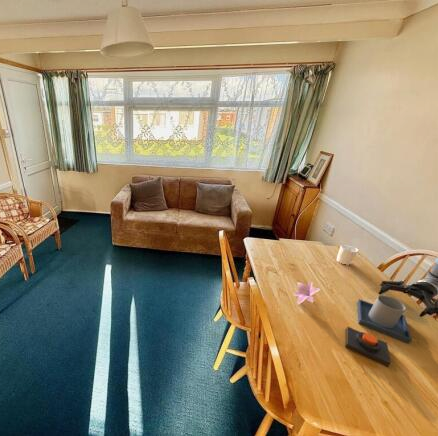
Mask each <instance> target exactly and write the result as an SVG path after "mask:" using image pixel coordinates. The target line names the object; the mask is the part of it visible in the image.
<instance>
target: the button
mask: <svg viewBox="0 0 438 436" xmlns="http://www.w3.org/2000/svg"><path fill="white" fill-rule="evenodd" d="M364 333H365V334H363V336H362V340H363V341H364V342H366V343H367V344H369V345H372V346H375V345H376V343H377V342H378V340H377V339H378V338H376V336H374V335H373V334H371V333H367V332H364Z"/></svg>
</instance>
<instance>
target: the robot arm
mask: <svg viewBox="0 0 438 436" xmlns="http://www.w3.org/2000/svg"><path fill="white" fill-rule="evenodd" d="M379 286H380V290H379V291H378V293H377V294H378V295H379V296H381V295H383V294H385V293H387V292H389V291H394V292H398V293H402V294H406V295H410V296H412V297H414V298H415V299H417V300H419V301H420V303H422V304H423V305H424V306H425V307H426V308H424V309H423V310H422V311H421V312H420V314H419V315H418V316H419V317H420V318H423V317H424V316H426V315H428V316H433V315H437V316H438V298H435V297H436V296H438V257H437V258H436V259H435V261H434V263H433V264H432V266H431V268H430V270H429V271H428V272H427V273H426V275H425V277H424V278H421V279H420V280H417V281H416V282H413V283H412V284H409V285H407V284H406V283H405V282H404V281H402V280H399V281H396V280H395V281H394V280H393V281H392V280H381V283H380V284H379Z"/></svg>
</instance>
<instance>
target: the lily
mask: <svg viewBox="0 0 438 436" xmlns="http://www.w3.org/2000/svg"><path fill="white" fill-rule="evenodd" d="M313 283H314V282H313V281H310V282H308V284H304V283H302V282H300V281H299V282H297V289H298V291H295V293H294V294H293V296H295V297H297V305H298V306H299V305H301V304H302V303H303V302H304V301H305V300H307V301H308V302H311V303H314V297H313V295H315V294H316V293H318V292H319V291H321V288H319V287H315V286H313Z"/></svg>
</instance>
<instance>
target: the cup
mask: <svg viewBox="0 0 438 436" xmlns="http://www.w3.org/2000/svg"><path fill="white" fill-rule="evenodd" d="M373 304H374V305H373V306H372V308H371V310H370V312H369V314H368V316H369V318H370V319H371V320H372V321H373V322H375V323H376V324H378V325H380V326H383V327H385V328H393V327H394V326H395V325H396V323H397V322H398V320H399V319H400V317H401V315H402V314H403V315H404V313H405V311H406V309H407V308H406V306H405V305H404V303H402V302H401V301H400V300H398V299H396V298H394V297H393V296H392V297H391V296H388V295H383V294H381V295H377V298H376V300H375V301H374V303H373Z"/></svg>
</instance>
